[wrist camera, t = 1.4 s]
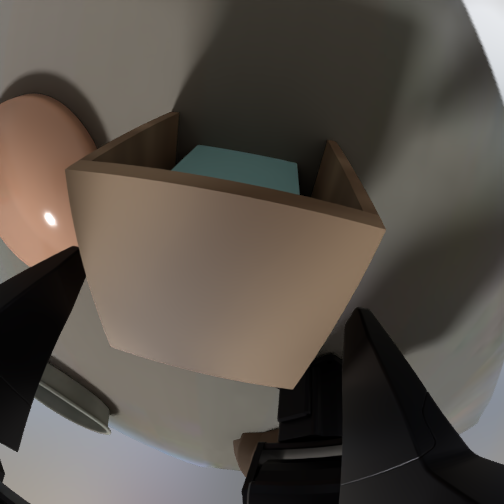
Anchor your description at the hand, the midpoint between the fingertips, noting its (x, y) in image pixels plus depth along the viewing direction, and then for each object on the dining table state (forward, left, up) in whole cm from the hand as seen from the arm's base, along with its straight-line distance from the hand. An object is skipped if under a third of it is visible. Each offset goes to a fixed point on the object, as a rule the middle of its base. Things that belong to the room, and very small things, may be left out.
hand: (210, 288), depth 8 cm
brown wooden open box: (0, 0, -6) cm, 6 cm away
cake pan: (-1, +51, -6) cm, 51 cm away
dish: (+10, +9, -6) cm, 15 cm away
